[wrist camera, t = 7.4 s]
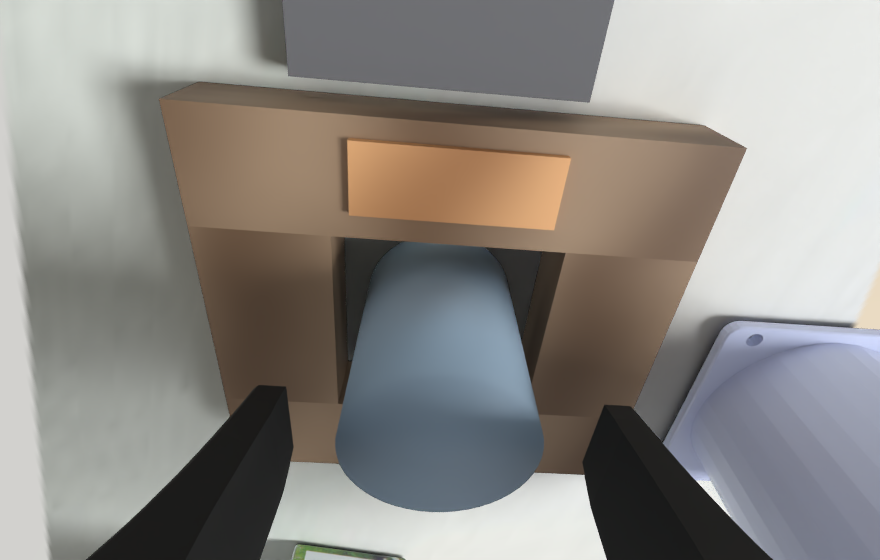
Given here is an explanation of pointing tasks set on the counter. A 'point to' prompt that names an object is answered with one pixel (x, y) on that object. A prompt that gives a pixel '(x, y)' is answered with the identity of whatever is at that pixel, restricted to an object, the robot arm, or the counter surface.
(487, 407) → the peg
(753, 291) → the counter surface
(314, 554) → the syrup box
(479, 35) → the mat
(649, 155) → the socket plate
